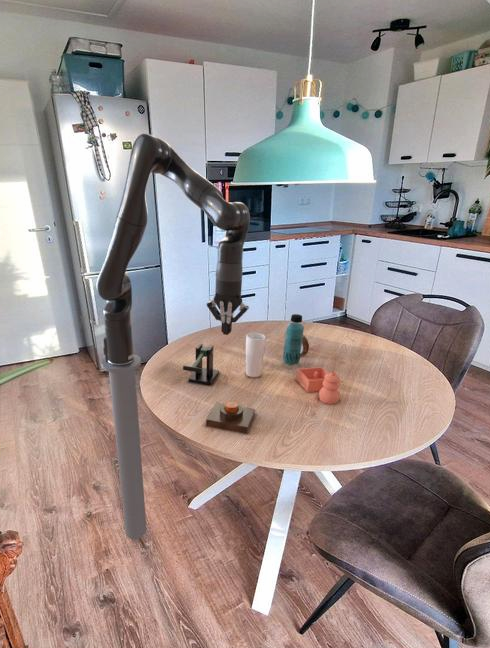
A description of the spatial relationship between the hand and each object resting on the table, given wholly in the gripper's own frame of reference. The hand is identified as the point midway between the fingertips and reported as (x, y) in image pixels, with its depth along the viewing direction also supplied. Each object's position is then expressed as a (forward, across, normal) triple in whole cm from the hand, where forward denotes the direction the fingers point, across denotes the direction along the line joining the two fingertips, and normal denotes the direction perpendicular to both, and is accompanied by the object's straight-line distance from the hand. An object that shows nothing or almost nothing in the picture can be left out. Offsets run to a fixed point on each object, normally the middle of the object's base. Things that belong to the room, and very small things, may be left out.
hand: (226, 333), depth 118 cm
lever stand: (+21, +10, -8) cm, 25 cm away
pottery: (+21, -30, -13) cm, 39 cm away
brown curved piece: (+21, -18, -44) cm, 52 cm away
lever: (+13, +10, -3) cm, 16 cm away
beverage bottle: (+21, -18, -30) cm, 41 cm away
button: (+17, -7, +14) cm, 23 cm away
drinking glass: (+21, -6, -17) cm, 28 cm away
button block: (+21, -7, +14) cm, 26 cm away
